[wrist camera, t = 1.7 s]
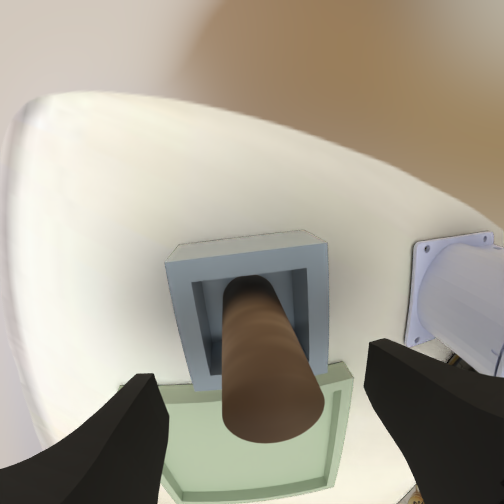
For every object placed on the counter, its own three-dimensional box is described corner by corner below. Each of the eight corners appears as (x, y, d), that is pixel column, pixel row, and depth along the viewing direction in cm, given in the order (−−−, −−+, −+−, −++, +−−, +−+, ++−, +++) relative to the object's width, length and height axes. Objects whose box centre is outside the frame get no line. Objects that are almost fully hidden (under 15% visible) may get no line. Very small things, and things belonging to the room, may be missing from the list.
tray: (343, 361, 18) (354, 377, 16) (328, 473, 22) (333, 486, 20) (120, 385, 17) (112, 402, 15) (177, 490, 21) (176, 503, 19)
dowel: (273, 270, 16) (326, 365, 7) (277, 319, 16) (322, 433, 8) (219, 277, 15) (213, 382, 7) (226, 325, 16) (230, 448, 7)
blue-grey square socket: (304, 229, 16) (327, 242, 12) (309, 338, 17) (327, 373, 14) (178, 244, 15) (164, 262, 12) (199, 353, 17) (194, 391, 13)
